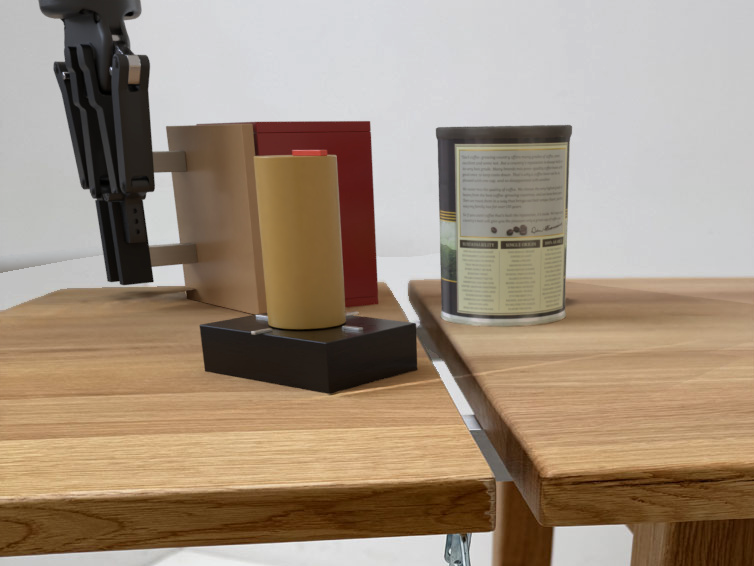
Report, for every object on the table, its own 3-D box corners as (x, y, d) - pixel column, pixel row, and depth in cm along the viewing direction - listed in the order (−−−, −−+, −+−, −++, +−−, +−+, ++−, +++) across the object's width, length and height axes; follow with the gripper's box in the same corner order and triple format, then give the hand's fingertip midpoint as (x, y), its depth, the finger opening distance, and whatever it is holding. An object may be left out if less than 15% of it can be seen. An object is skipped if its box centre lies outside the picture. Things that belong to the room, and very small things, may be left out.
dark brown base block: (198, 374, 65) (192, 323, 63) (300, 351, 71) (296, 304, 70) (323, 397, 59) (319, 341, 57) (422, 370, 65) (421, 319, 64)
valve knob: (252, 324, 63) (235, 150, 59) (307, 314, 67) (295, 149, 62) (307, 332, 60) (293, 150, 56) (362, 321, 64) (353, 149, 60)
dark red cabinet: (273, 316, 85) (256, 121, 79) (214, 297, 95) (195, 124, 89) (378, 305, 90) (370, 120, 84) (312, 288, 100) (300, 123, 94)
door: (188, 324, 81) (163, 124, 75) (120, 305, 90) (93, 126, 84) (269, 314, 85) (252, 123, 79) (196, 297, 94) (176, 126, 88)
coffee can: (413, 317, 83) (407, 126, 77) (503, 303, 90) (504, 125, 84) (502, 333, 77) (503, 124, 71) (592, 316, 83) (600, 124, 77)
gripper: (174, -50, 74) (211, 286, 85) (92, -28, 85) (134, 269, 95) (73, -60, 70) (125, 296, 80) (0, -35, 80) (54, 277, 91)
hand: (130, 281), depth 88 cm, fingers closed on door, 2 cm apart
